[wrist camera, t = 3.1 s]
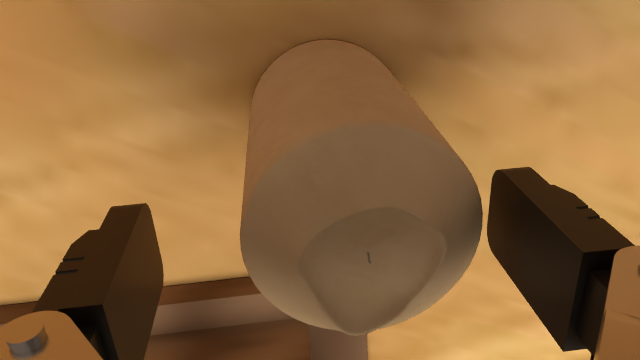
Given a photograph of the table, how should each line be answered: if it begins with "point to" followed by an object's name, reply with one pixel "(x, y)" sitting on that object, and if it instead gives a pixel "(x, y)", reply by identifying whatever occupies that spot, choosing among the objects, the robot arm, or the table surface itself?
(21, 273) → the table surface
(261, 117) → the candle
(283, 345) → the display pedestal
